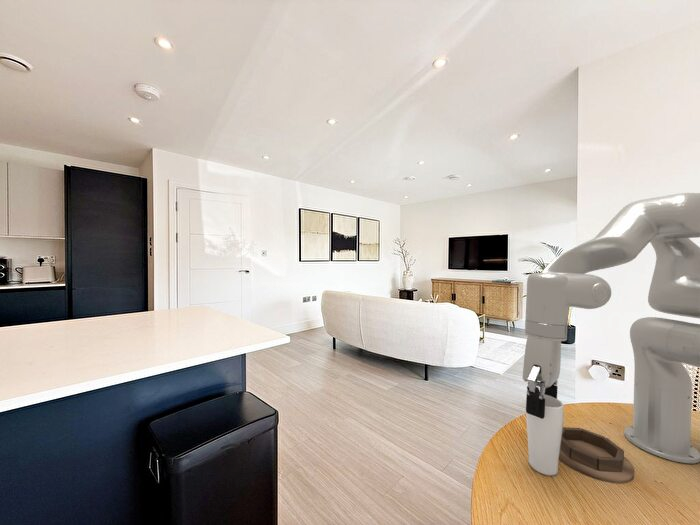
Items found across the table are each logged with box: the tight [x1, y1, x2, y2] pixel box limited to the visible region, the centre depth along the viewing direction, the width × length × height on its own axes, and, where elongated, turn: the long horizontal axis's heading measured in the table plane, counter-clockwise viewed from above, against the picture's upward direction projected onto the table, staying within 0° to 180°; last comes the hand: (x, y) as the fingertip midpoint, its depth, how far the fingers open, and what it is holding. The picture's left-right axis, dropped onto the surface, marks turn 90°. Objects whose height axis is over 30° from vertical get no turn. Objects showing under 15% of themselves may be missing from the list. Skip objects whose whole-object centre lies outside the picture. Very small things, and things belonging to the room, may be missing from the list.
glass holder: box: [559, 426, 635, 484], centre depth 65 cm, size 15×15×4 cm
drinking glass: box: [525, 394, 565, 476], centre depth 61 cm, size 7×7×15 cm
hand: (541, 407), depth 61 cm, fingers open, 9 cm apart
